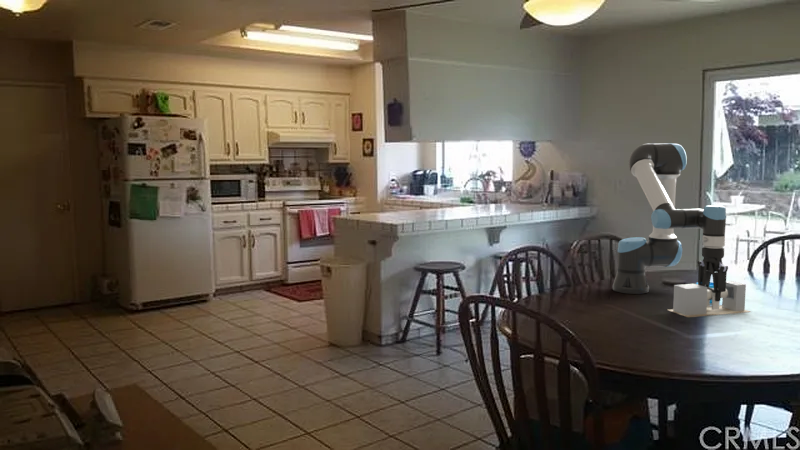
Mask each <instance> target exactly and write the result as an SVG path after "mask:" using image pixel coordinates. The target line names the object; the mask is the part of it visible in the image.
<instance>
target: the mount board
mask: <svg viewBox="0 0 800 450" xmlns="http://www.w3.org/2000/svg"><path fill="white" fill-rule="evenodd" d="M668 311H669V312H672V313H675V314H677V315H680V316H684V317H686V318H697V317H708V316H710V317H711V316H718V315H719V316H720V315H732V314H744V313H752V311H750V310H748V309H745V311H733V310H730V309H727V308H724V307H722V304H719V309H716V310H712V305H710V306H707V311H706V314H697V315H683V314H680V313H677V312H675V311H673V308H671V309H668Z"/></svg>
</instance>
